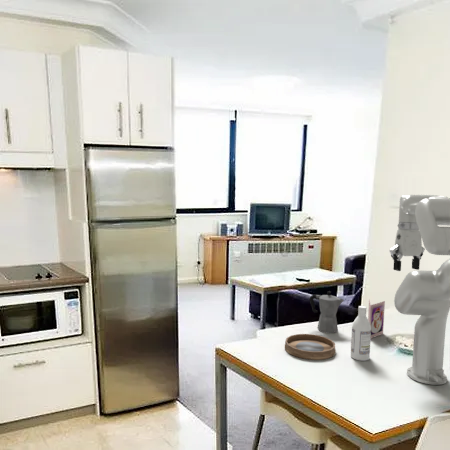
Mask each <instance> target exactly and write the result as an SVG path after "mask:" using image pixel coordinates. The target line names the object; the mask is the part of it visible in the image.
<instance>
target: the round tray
mask: <svg viewBox="0 0 450 450" xmlns="http://www.w3.org/2000/svg"><path fill="white" fill-rule="evenodd" d="M284 350H285V352H286V353H287V354H289V355H291V356H293V357H295V358H298V359H302V360H307V361H308V360H309V361H310V360H311V361H322V360H323V361H324V360H328V359H331V358H333V357H334V356H335V355H336V351H337V350H336V343H335V342H334V341H333V340H332V339H330V338H328V337H326V336H322V335H318V334H313V333H312V334H311V333H298V334H292V335H290V336H287V337H285V341H284Z"/></svg>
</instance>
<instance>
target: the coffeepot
mask: <svg viewBox="0 0 450 450" xmlns="http://www.w3.org/2000/svg"><path fill="white" fill-rule="evenodd" d="M331 293H332V291H330V290H329V291H327V294H322V295H321V294H312V295H311V296H310V297H309V301H310V302H309V303H310V306H311V308H312V312H313V313H318V312H320V314H319V319H318V323H317V327H316V328H317V330H318V331H320V332H321V333H325V334H334V333H337V332H338V331H339V330H338V321H337V313H338V309H339V307H340V305H341V304H342V303H343V302H345V300H344V299H343V298H340V297H338V296H335V295H332V294H331ZM314 299H315V300H318V303H319V310H316V305H315V301H314Z"/></svg>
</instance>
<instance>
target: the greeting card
mask: <svg viewBox="0 0 450 450" xmlns="http://www.w3.org/2000/svg"><path fill="white" fill-rule="evenodd" d="M385 305H386V301H385V300H384V301H380V302H377V303H373V304H371V302H370V299H368V310H367V311H368V313H367V319H368V321H369V322H370V325H371V339H374V338H375V337H378V336H381V335H383V334H384V326H385V325H384V324H385V323H384V322H385Z"/></svg>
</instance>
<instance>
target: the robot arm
mask: <svg viewBox="0 0 450 450" xmlns="http://www.w3.org/2000/svg"><path fill="white" fill-rule="evenodd" d="M398 208H399V210H398V223H397V227H398V229H397V231H396V235H395V240H394V241H395V242H394V246H393V247H391V248H390V249H389V253H390V256H391V258H392V260H393V268H392V269H393V270H394V271H397V272H401V270H402V260H401V259H402V258H403V257H412V259H411V269H413V271H410V272H409V273H407V274H406V275H405V276H404V279H402V282H401V283H400V285H399V286H398V288H397V290H396V291H395V294H394V300H393V302H394V307H395V309H396V311H398V313H400V314H401V315H405V316H406V315H408V316H419V318H418V319H417V321H416V323H415V325H414V330H413V331H414V332H413V333H414V334H413V346H412V347H413V348H412V349H413V351H412V363H411V366H409V367H408V368H407V369H406V374H407V376H408V377H409V378H411V379H412V380H414V381H416V382H418V383H422V384H425V385H432V386H438V385H439V386H441V385H444V384H446V383H447V382H448V376H447V375H446V374H445V373H444V371H445V369H443V367H444V354H445V342H446V330H447V329H446V328H447V319H448V316H449V313H450V258H448V259H447V260H445V261H444V262H442V264H441V265H440V267H439V268H438V269H435V270H420V264H421V263H420V262H421V259H422V257H423V255H424V253H425V250H426V252H428V253H429V254H431V255H434V256H450V197H448V196H443V195H434V194H408V195H405V194H404V195H401V196H400V198H399V207H398ZM422 243H423V244H422ZM422 245H423V246H424V247H423V246H422Z"/></svg>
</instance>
